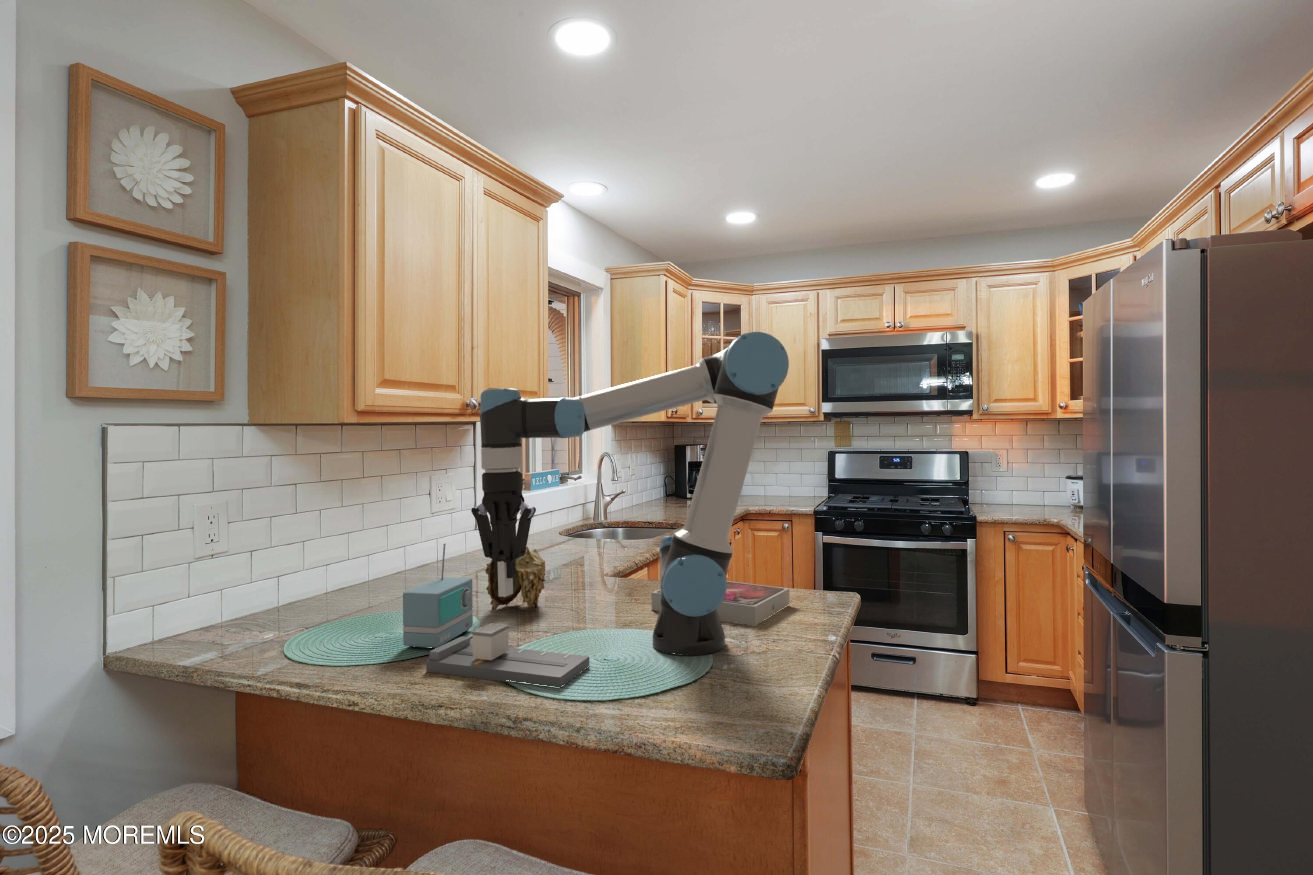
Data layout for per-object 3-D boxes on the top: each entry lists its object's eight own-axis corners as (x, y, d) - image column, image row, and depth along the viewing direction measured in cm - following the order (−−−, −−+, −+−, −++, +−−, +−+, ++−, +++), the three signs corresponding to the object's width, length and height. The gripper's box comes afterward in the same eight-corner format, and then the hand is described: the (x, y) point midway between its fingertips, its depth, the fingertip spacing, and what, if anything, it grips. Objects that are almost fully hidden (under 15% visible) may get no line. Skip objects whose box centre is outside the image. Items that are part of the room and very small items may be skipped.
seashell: (477, 540, 169) (530, 553, 164) (516, 534, 186) (565, 545, 180) (466, 612, 169) (519, 627, 164) (506, 599, 186) (554, 612, 181)
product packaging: (755, 628, 158) (755, 606, 158) (651, 612, 173) (651, 592, 173) (789, 607, 176) (789, 588, 176) (693, 594, 191) (693, 576, 191)
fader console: (589, 666, 131) (589, 648, 131) (560, 688, 120) (559, 668, 120) (464, 652, 140) (464, 635, 140) (426, 671, 129) (426, 652, 129)
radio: (442, 652, 141) (441, 554, 141) (402, 649, 142) (401, 553, 142) (477, 630, 156) (477, 542, 156) (441, 628, 158) (440, 541, 158)
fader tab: (509, 650, 133) (509, 624, 133) (491, 660, 128) (491, 633, 128) (490, 648, 135) (490, 623, 135) (472, 658, 129) (472, 631, 129)
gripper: (542, 469, 132) (546, 592, 132) (483, 469, 136) (487, 588, 136) (522, 471, 124) (525, 601, 125) (461, 472, 129) (464, 597, 129)
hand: (505, 594), depth 130 cm, fingers closed
